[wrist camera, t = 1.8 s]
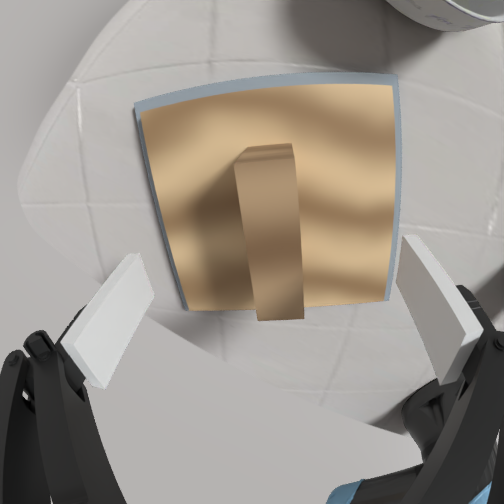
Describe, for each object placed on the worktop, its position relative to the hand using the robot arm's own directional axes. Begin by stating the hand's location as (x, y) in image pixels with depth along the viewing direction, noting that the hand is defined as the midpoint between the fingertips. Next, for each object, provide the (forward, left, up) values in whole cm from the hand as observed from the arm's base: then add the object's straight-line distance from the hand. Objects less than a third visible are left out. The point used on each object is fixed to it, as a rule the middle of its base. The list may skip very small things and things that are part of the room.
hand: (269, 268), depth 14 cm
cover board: (0, 0, -10) cm, 10 cm away
